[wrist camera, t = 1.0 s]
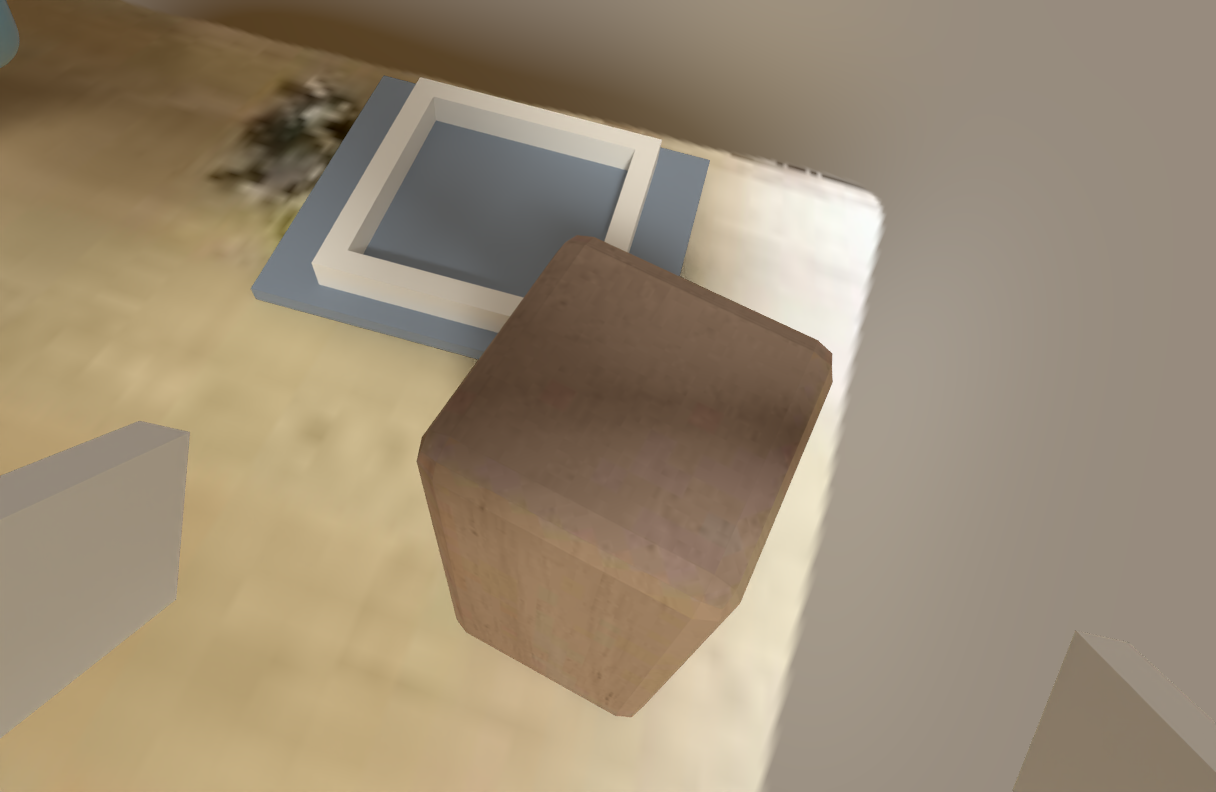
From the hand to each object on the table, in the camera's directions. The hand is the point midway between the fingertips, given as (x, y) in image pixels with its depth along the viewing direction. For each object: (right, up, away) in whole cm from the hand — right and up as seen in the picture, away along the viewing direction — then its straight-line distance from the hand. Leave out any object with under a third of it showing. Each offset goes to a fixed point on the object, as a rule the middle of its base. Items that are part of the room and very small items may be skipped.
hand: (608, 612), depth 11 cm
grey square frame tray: (-7, +14, +40) cm, 43 cm away
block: (-1, -7, +29) cm, 30 cm away
